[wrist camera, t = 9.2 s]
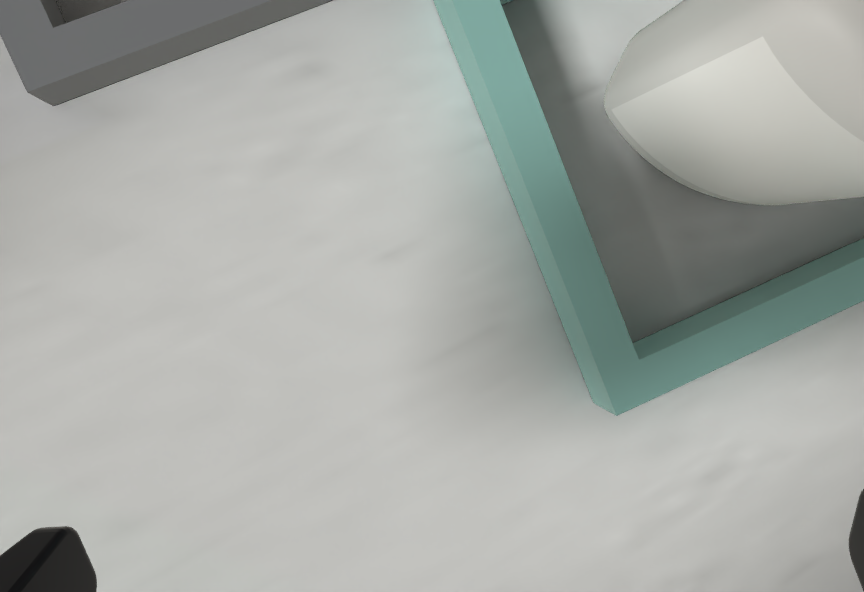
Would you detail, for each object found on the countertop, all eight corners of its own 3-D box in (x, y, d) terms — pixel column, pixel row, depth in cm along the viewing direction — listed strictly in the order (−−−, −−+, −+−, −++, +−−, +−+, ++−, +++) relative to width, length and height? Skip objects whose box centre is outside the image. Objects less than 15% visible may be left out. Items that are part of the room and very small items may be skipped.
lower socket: (954, 236, 20) (1004, 235, 19) (594, 402, 19) (616, 415, 18) (822, -165, 19) (864, -199, 18) (428, -13, 18) (437, -37, 16)
